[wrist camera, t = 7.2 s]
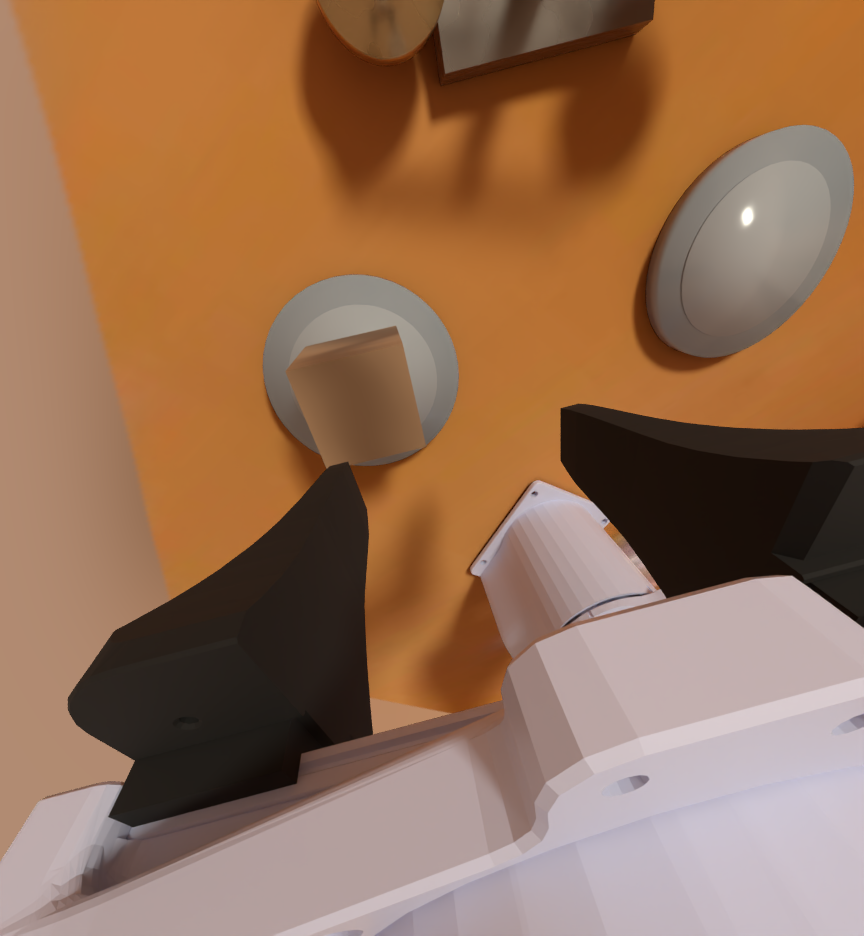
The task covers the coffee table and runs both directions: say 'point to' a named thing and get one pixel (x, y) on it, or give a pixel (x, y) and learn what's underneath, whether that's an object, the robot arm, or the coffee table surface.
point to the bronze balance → (479, 30)
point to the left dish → (355, 312)
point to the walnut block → (358, 397)
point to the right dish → (749, 241)
